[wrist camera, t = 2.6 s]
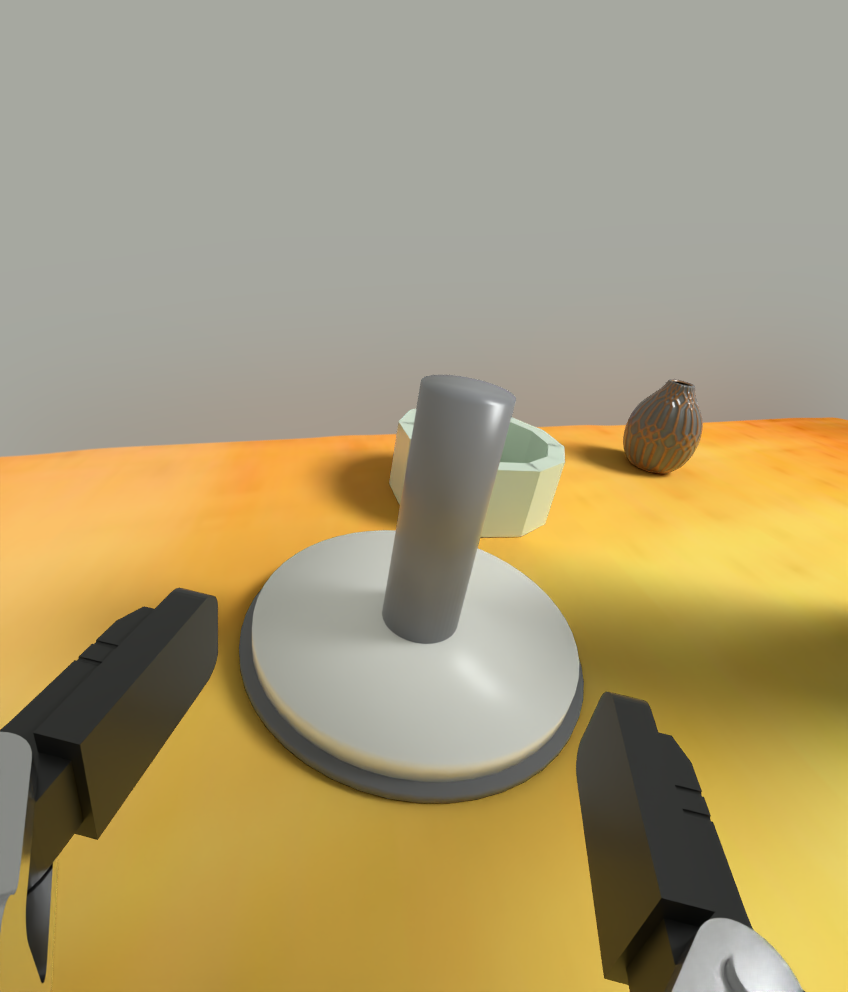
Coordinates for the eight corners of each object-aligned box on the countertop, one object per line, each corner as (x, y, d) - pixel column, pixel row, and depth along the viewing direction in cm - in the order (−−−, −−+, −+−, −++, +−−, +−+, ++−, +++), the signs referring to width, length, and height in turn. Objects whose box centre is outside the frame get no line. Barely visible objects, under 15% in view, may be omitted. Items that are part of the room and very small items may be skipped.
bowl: (459, 452, 47) (470, 399, 45) (573, 509, 41) (593, 451, 38) (359, 479, 39) (366, 416, 37) (482, 556, 32) (501, 486, 30)
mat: (413, 520, 35) (414, 515, 35) (636, 662, 26) (639, 656, 26) (172, 611, 24) (172, 605, 23) (420, 917, 15) (422, 910, 15)
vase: (601, 450, 55) (630, 369, 51) (653, 453, 57) (684, 375, 53) (643, 480, 49) (679, 391, 45) (698, 481, 51) (737, 397, 47)
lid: (414, 520, 34) (448, 336, 29) (626, 655, 26) (731, 431, 20) (188, 606, 24) (174, 341, 18) (421, 881, 15) (525, 544, 10)
